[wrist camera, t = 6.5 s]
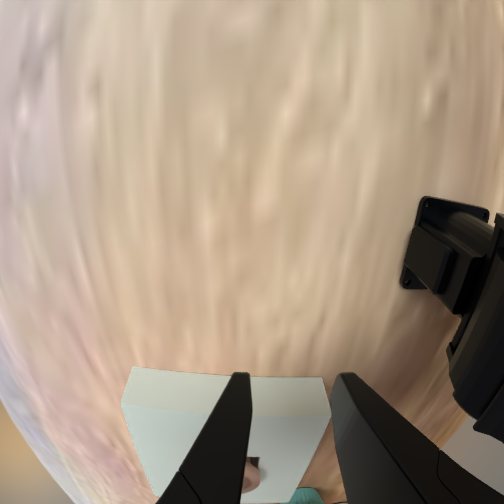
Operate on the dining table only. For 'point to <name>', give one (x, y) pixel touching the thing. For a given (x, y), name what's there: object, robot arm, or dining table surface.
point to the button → (250, 477)
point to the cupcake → (305, 497)
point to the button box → (200, 407)
